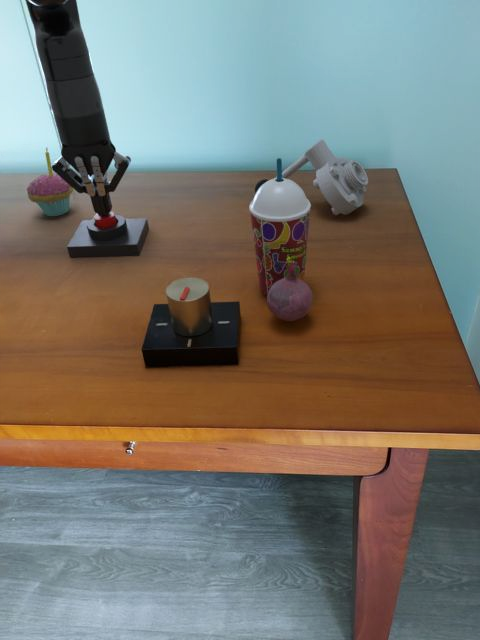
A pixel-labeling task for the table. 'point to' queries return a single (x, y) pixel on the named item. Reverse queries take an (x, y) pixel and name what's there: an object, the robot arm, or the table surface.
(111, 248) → the box
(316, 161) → the valve
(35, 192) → the cupcake
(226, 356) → the dial panel
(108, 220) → the button
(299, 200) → the smoothie
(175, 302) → the pointer knob
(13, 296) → the table surface
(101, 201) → the robot arm
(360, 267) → the table surface
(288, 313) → the vegetable
